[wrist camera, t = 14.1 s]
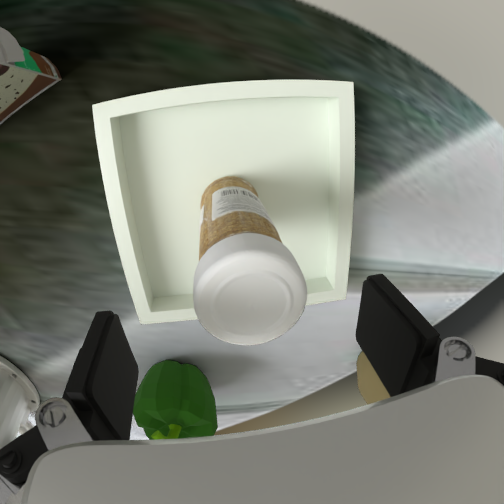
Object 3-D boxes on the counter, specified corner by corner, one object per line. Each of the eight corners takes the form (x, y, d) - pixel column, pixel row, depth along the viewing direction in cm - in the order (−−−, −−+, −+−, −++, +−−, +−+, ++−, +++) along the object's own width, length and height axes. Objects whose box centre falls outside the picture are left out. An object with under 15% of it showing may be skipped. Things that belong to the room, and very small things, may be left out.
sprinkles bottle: (190, 215, 24) (173, 327, 12) (218, 163, 22) (228, 231, 10) (241, 240, 25) (270, 361, 13) (270, 192, 24) (332, 282, 12)
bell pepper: (222, 391, 34) (228, 463, 25) (158, 399, 34) (152, 468, 25) (202, 342, 31) (204, 423, 22) (130, 353, 30) (114, 430, 21)
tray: (334, 281, 29) (345, 299, 27) (145, 304, 28) (140, 324, 25) (337, 84, 21) (353, 81, 19) (105, 105, 20) (92, 105, 17)
